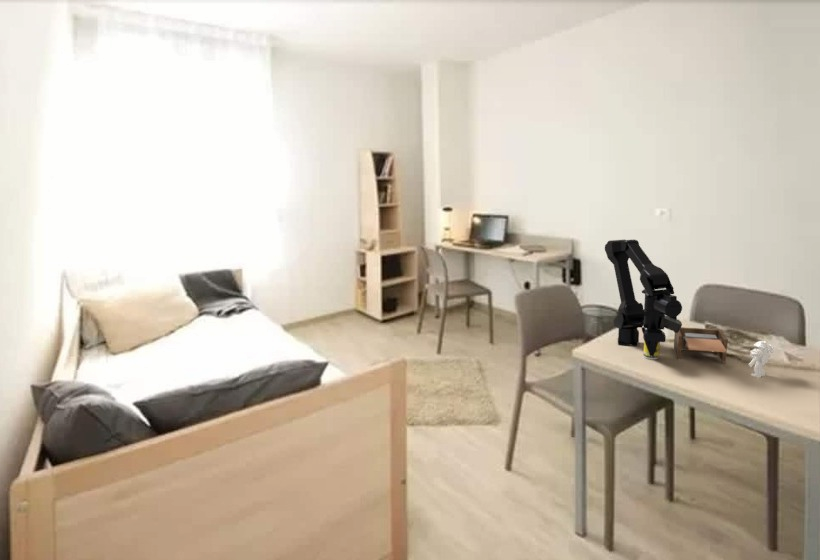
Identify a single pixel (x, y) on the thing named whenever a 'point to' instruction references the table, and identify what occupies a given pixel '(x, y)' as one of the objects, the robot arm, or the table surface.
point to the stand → (679, 336)
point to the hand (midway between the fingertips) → (651, 352)
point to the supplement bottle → (647, 355)
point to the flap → (703, 342)
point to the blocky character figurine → (760, 358)
